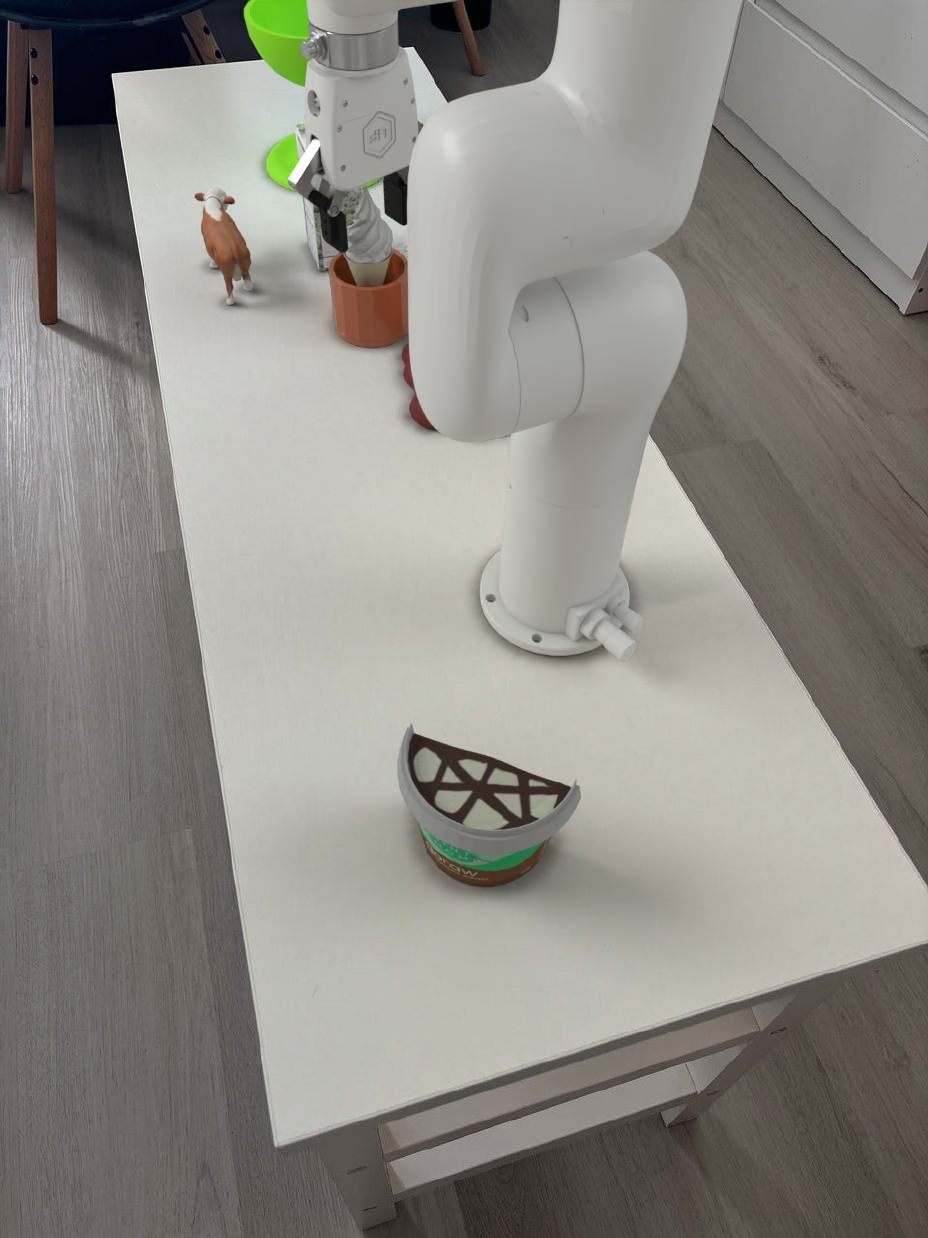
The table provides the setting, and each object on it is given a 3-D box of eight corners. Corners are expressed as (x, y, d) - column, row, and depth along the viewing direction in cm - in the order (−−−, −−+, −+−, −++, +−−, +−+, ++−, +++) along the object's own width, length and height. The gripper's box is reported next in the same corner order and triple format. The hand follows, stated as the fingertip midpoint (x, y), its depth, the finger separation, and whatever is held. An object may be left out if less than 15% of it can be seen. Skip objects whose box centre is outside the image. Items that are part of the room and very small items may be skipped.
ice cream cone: (389, 335, 104) (383, 202, 92) (343, 328, 104) (331, 195, 92) (400, 308, 107) (396, 174, 95) (355, 301, 107) (345, 168, 95)
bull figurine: (240, 243, 115) (228, 175, 109) (261, 308, 107) (250, 239, 101) (202, 248, 114) (188, 181, 108) (222, 314, 107) (208, 246, 100)
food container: (372, 867, 68) (363, 799, 60) (407, 792, 72) (403, 720, 64) (541, 930, 65) (555, 868, 58) (568, 850, 69) (585, 782, 61)
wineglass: (353, 122, 134) (343, -27, 120) (411, 174, 126) (408, 20, 111) (245, 150, 128) (221, -2, 114) (299, 207, 120) (279, 50, 106)
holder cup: (426, 327, 106) (425, 269, 100) (366, 357, 102) (362, 299, 97) (378, 293, 110) (375, 235, 104) (319, 321, 106) (313, 263, 101)
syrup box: (354, 238, 116) (345, 114, 105) (367, 265, 113) (359, 140, 101) (307, 246, 115) (293, 121, 104) (319, 273, 112) (305, 147, 100)
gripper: (297, 84, 78) (318, 281, 92) (460, 27, 85) (457, 218, 100) (244, 52, 82) (273, 247, 96) (405, 0, 89) (410, 188, 103)
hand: (366, 231), depth 97 cm, fingers open, 7 cm apart
